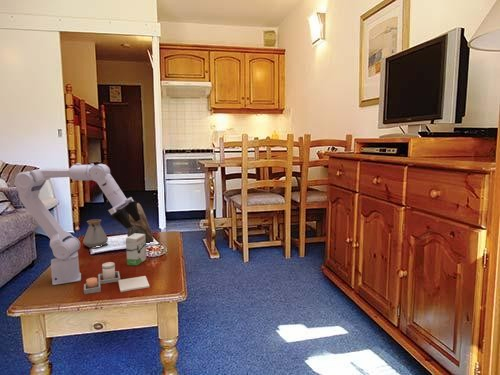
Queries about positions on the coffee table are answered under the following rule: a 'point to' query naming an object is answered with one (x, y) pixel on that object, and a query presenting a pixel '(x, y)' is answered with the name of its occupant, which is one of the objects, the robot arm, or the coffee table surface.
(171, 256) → the coffee table surface
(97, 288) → the dock
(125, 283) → the mat
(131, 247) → the ink box
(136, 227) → the brown tapered rock
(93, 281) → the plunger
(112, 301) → the coffee table surface
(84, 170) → the robot arm
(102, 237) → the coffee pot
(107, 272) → the cartridge
